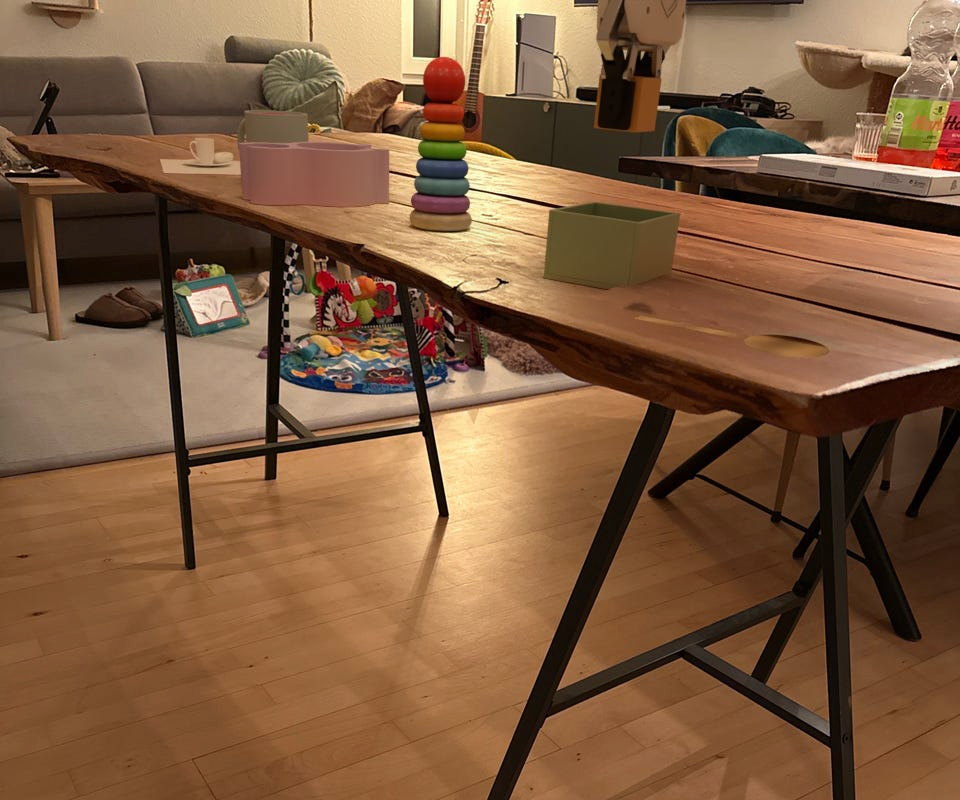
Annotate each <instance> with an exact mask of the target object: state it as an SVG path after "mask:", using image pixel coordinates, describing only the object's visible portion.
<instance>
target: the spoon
mask: <svg viewBox="0 0 960 800" xmlns="http://www.w3.org/2000/svg"><path fill="white" fill-rule="evenodd" d="M633 319H634V320H638V321H644V322H650V323H654V324H659V325H664V326H670V327H674V328H680V329H684V330H685V329H686V330H691V331H696V332H701V333H705V334H711V335H716V336H722V337H727V338H732V339H738V340H743V343H744V344H745V345H746V346H748V347H749V348H751V349H752V350H753V349H754V350H756V351H759V352H763V353H767V354H771V355H775V356H782V357H791V358H820V357H824V356H827V355H828V354H829V353H830V352H831V351H830V348H829V347H827V346H826V345H824V344H822V343H820V342H818V341H815V340H811V339H807V338H804V337H803V338H802V337H798V336H794V335H793V336H792V335H785V334H784V335H783V334H755V335H745V334H740V333H735V332H730V331H724V330H718V329H714V328H708V327H703V326H697V325H692V324H686V323H682V322H676V321H671V320H666V319H660V318H656V317H650V316H646V315H638V316H636V317H634V318H633Z"/></svg>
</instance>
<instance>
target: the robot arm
mask: <svg viewBox="0 0 960 800" xmlns="http://www.w3.org/2000/svg"><path fill="white" fill-rule="evenodd" d="M686 7H687V0H597V10H596V11H597V12H596V31H597V32H596V38H595V39H596V43H597V45H598V48H599V50H600V58H601V62H602V64H601V70H600V74H601V78H602V87H601V96H600V105H599V114H598V126H599V127H600V128H608V129H617V130H628V129H629V128H630V124H631V116H632V108H633V100H634V92H635V84H636V82H632V81H631V79H632V76H641V77H654V78H662V77H661V76H662V64H663V63H664V61H665V59H666V54H667V53H668V51H669V50H670V48H671V46H675V45H676V44H678V43H679V42H680V40H681V39H682V36H683V30H684V22H685V15H686V14H685V13H686ZM624 51H626V55H625V52H624ZM642 52H643V55H642ZM608 129H607V130H608ZM617 130H616V131H617Z"/></svg>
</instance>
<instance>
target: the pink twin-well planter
mask: <svg viewBox="0 0 960 800" xmlns="http://www.w3.org/2000/svg"><path fill="white" fill-rule="evenodd" d="M238 152H239V161H240V169H241V175H240V181H241V183H240V184H241V195H242V200H245V201H247V200H248V201H250V204H253V205H262V206H292V205H293V206H294V205H297V206H298V205H309V206H319V207H336V208H337V207H338V208H339V207H340V208H342V207H343V208H346V207H347V208H350V207H351V208H352V207H355V208H356V207H367V206H372V205H375V204H383V205H388V204H390V149H387V148H375V147H372V144H370V143H369V144H368V143H362V144H361V143H360V144H359V143H358V144H357V143H346V142H330V141H329V142H328V141H309V142H293V143H263V142H249V143H246V142H245V143H239V149H238Z"/></svg>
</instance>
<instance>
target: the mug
mask: <svg viewBox="0 0 960 800" xmlns="http://www.w3.org/2000/svg"><path fill="white" fill-rule="evenodd" d="M243 113H244V118H243V119H242V120H241V121H240V123H239V125H238V128H237V134H236V137H237V138H236V144H237V149H238V150H239V143H249V142H263V143H293V142H310V141H309V118H308V117H309V114H308V113H306V112H305V113H304V112H298V111H289V110H288V111H286V110H271V109H270V110H265V109H249V110H244V111H243Z"/></svg>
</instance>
